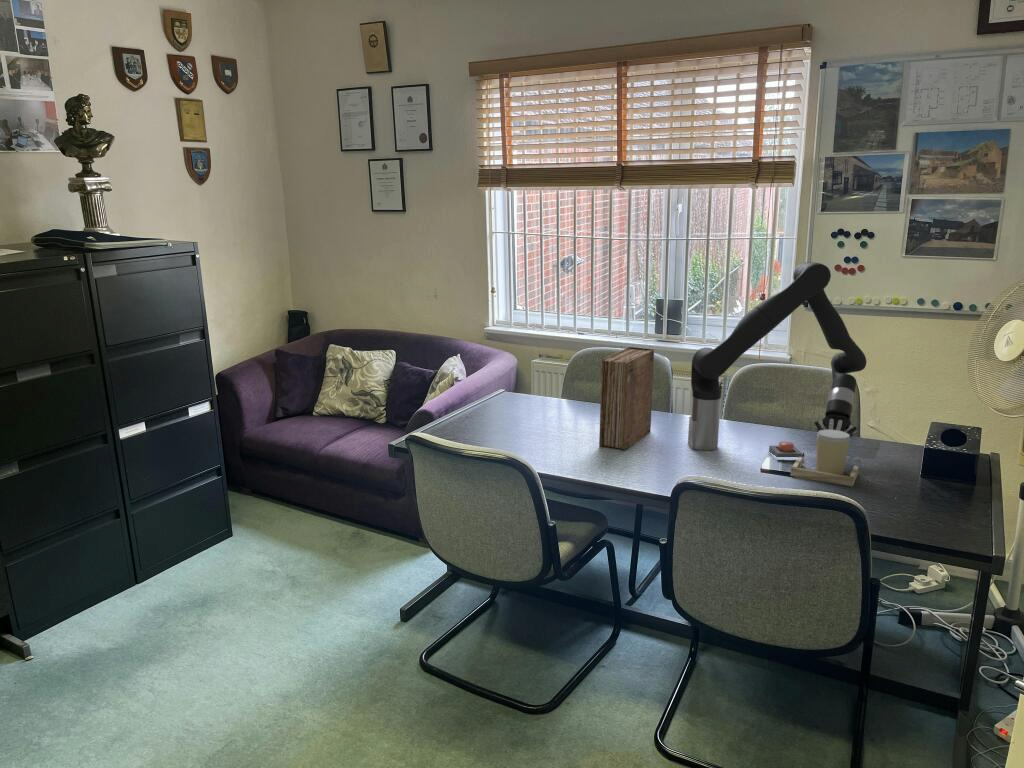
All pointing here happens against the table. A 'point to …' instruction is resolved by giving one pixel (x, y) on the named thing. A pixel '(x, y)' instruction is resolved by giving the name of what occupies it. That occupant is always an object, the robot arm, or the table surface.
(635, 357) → the brown plywood block
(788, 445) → the button
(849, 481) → the holder
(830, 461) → the coffee cup
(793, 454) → the button box
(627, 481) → the table surface
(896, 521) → the table surface
